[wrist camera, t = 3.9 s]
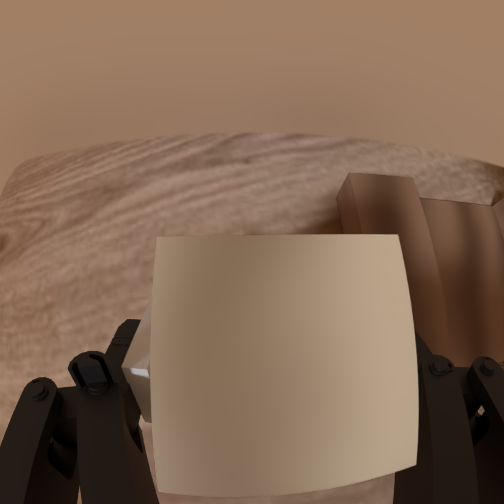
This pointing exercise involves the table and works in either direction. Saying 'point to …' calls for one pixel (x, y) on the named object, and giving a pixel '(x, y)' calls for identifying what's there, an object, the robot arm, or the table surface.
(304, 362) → the tall wooden block
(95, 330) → the table surface
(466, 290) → the cradle
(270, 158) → the table surface
